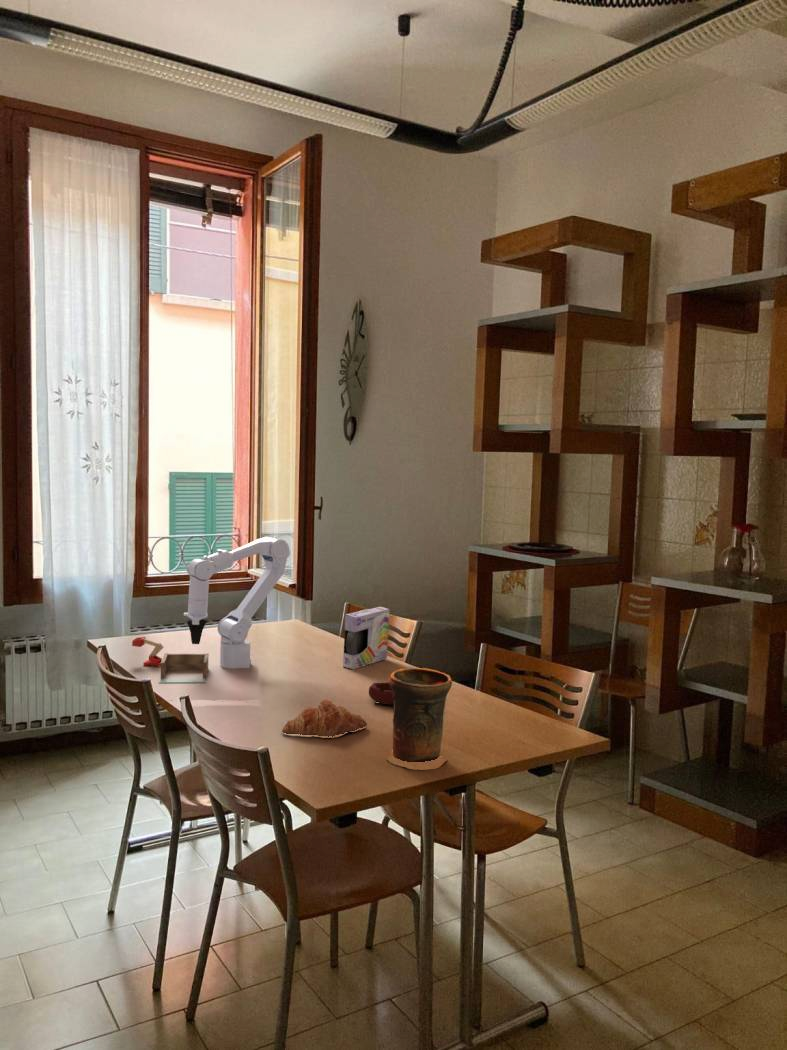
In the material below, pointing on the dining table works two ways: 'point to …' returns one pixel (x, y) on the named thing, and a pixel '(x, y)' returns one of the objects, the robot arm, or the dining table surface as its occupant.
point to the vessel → (418, 713)
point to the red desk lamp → (153, 658)
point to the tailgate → (182, 681)
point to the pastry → (324, 721)
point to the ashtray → (381, 693)
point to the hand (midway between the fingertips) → (195, 643)
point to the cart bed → (184, 663)
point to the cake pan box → (365, 637)
